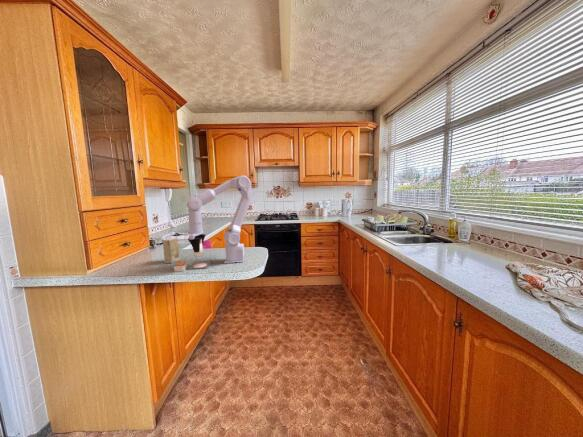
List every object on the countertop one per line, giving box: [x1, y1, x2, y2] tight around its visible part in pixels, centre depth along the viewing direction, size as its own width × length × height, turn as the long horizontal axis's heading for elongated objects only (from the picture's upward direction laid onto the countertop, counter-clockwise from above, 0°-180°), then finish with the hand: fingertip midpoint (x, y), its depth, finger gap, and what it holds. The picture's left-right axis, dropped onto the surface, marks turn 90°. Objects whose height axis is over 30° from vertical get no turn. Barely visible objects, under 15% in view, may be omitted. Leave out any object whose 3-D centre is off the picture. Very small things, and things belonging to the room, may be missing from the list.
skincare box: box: [162, 237, 180, 264], centre depth 122 cm, size 6×4×12 cm
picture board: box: [186, 260, 213, 270], centre depth 114 cm, size 9×10×1 cm
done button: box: [175, 260, 186, 266], centre depth 109 cm, size 3×3×2 cm
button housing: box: [173, 262, 188, 272], centre depth 109 cm, size 4×4×2 cm
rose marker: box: [193, 238, 204, 257], centre depth 111 cm, size 4×4×8 cm
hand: (198, 250), depth 111 cm, fingers closed on rose marker, 4 cm apart
